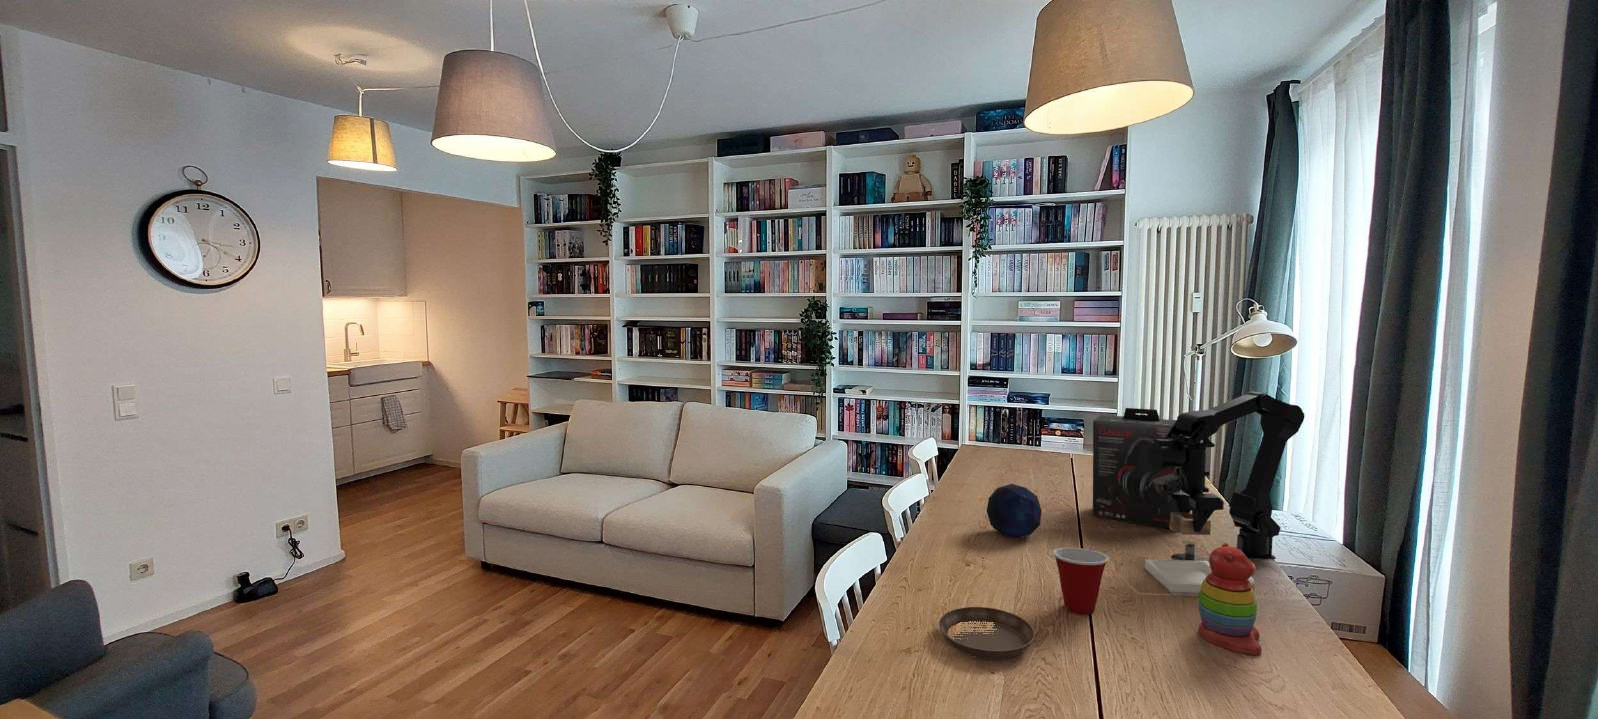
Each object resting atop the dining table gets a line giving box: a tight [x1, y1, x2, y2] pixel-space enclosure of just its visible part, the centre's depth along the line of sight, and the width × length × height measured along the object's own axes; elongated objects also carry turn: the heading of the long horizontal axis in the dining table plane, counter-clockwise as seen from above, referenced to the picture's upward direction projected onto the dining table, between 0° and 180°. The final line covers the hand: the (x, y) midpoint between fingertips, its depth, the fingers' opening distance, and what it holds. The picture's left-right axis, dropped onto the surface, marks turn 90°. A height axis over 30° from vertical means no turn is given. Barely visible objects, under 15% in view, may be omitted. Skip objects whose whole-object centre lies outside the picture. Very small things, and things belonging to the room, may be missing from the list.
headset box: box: [1092, 407, 1190, 529], centre depth 195 cm, size 25×12×33 cm, turn 54°
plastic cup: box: [1052, 547, 1110, 616], centre depth 139 cm, size 11×11×12 cm
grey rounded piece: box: [1170, 540, 1209, 562], centre depth 163 cm, size 8×8×5 cm
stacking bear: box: [1197, 542, 1262, 656], centre depth 125 cm, size 11×10×18 cm
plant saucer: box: [938, 606, 1036, 660], centre depth 127 cm, size 18×18×3 cm
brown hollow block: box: [1169, 511, 1212, 536], centre depth 163 cm, size 8×6×4 cm
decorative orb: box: [986, 483, 1043, 539], centre depth 183 cm, size 14×15×15 cm
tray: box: [1144, 559, 1212, 596], centre depth 151 cm, size 14×14×2 cm
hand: (1190, 527), depth 163 cm, fingers closed on brown hollow block, 6 cm apart
